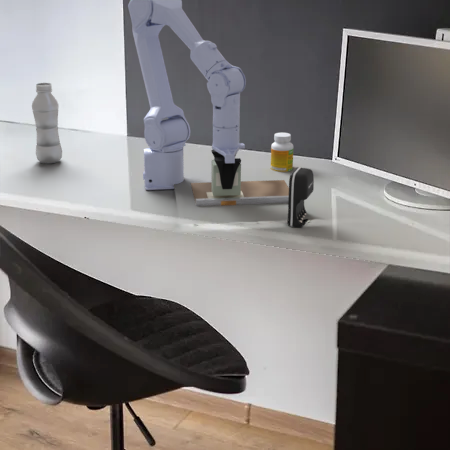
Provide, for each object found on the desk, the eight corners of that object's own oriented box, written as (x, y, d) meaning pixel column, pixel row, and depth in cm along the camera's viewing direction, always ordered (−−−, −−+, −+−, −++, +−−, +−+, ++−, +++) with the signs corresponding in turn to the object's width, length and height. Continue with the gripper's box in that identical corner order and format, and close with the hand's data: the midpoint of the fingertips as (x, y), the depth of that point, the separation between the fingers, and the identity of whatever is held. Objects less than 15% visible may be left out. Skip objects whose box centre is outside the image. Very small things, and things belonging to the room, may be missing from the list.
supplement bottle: (290, 177, 200) (292, 138, 196) (268, 175, 201) (269, 136, 197) (293, 170, 205) (295, 132, 201) (272, 168, 206) (273, 130, 202)
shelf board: (196, 211, 178) (196, 200, 177) (190, 187, 192) (190, 178, 191) (296, 207, 180) (297, 197, 179) (284, 184, 194) (284, 175, 193)
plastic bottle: (68, 161, 210) (63, 83, 203) (49, 168, 205) (43, 88, 198) (49, 157, 214) (44, 80, 206) (30, 163, 208) (24, 84, 201)
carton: (240, 195, 181) (241, 164, 178) (213, 196, 180) (213, 165, 178) (238, 188, 185) (238, 158, 182) (211, 189, 184) (211, 159, 182)
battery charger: (304, 229, 168) (307, 176, 164) (286, 227, 170) (288, 174, 165) (313, 218, 175) (315, 166, 170) (295, 215, 176) (298, 164, 171)
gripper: (249, 133, 171) (248, 195, 176) (240, 116, 184) (239, 174, 189) (215, 134, 170) (215, 196, 175) (208, 116, 183) (208, 175, 188)
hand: (225, 185), depth 182 cm, fingers closed on carton, 4 cm apart
